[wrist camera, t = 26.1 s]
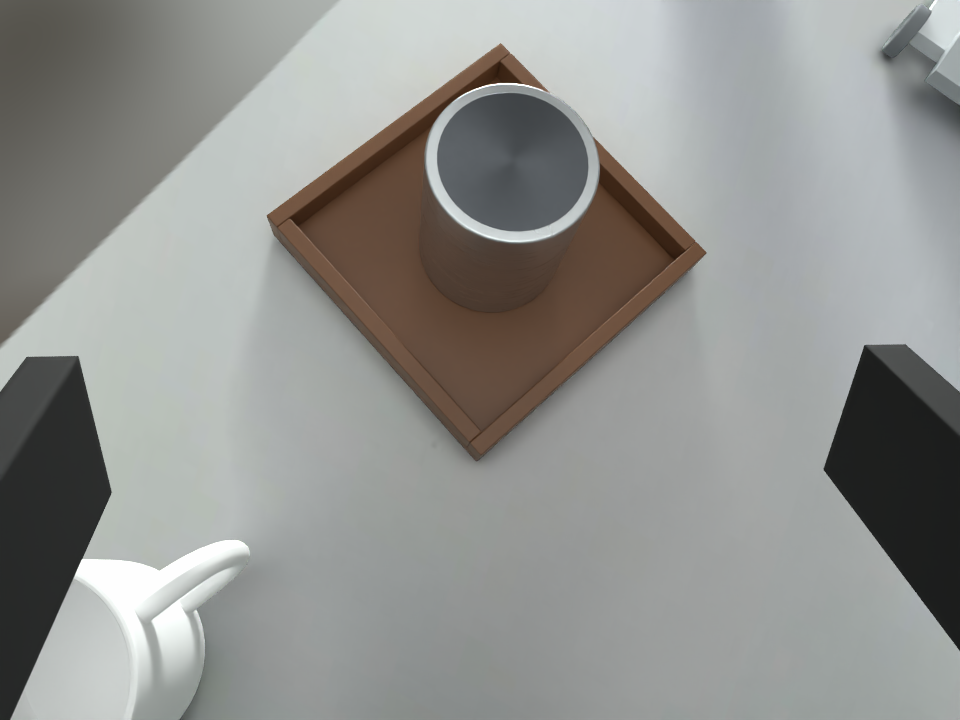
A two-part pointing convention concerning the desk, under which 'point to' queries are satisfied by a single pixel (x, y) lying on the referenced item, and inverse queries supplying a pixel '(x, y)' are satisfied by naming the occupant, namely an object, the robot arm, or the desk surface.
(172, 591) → the cup
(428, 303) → the tray
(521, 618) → the desk surface
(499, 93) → the silver cup
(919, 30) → the toy car
